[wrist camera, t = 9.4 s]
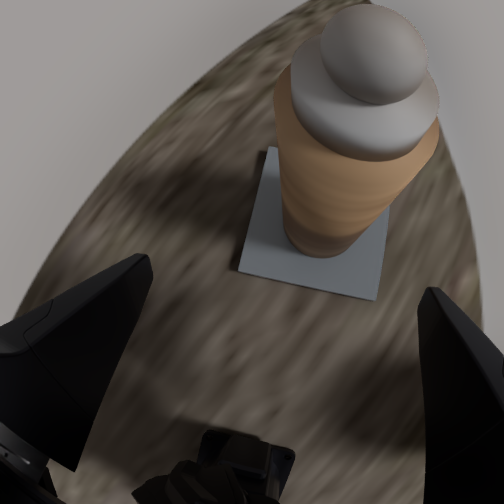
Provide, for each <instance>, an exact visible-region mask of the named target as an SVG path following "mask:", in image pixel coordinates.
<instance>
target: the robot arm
mask: <svg viewBox="0 0 504 504" xmlns="http://www.w3.org/2000/svg"><path fill="white" fill-rule="evenodd" d="M152 281H153V271H152V267H151V263H150V259H149V257H148V255H146V254H140V253H136V254H134V255H132V256H130V257H128V258H126V259H124V260H122V261H120V262H118V263H117V264H115V265H113V266H111V267H109V268H107V269H105V270H103V271H102V272H100V273H98V274H96V275H94V276H92V277H90V278H89V279H87V280H85V281H83V282H81V283H80V284H78V285H76V286H74V287H72V288H71V289H69V290H67V291H65V292H63V293H62V294H60V295H58V296H56V297H55V298H54V299H51V300H49V301H48V302H46V303H44V304H42V305H41V306H39V307H37V308H35V309H33V310H32V311H30V312H28V313H26V314H24V315H22V316H20V317H18V318H16V319H14V320H12V321H10V322H8V323H6V324H4V325H2V326H0V504H66V503H65V502H63V501H61V500H60V499H58V498H57V497H58V496H57V494H56V491H55V488H54V485H53V482H52V479H51V476H50V473H49V469H48V468H47V467H46V465H47V463H48V461H49V459H50V458H51V459H52V460H54V461H56V462H57V463H59V464H60V465H62V466H64V467H66V468H67V469H69V470H71V471H73V472H75V471H76V468H77V466H78V463H79V460H80V457H81V454H82V452H83V449H84V446H85V443H86V441H87V438H88V435H89V433H90V430H91V428H92V425H93V421H94V419H95V417H96V414H97V412H98V409H99V407H100V404H101V402H102V400H103V397H104V395H105V392H106V390H107V388H108V385H109V383H110V380H111V378H112V376H113V374H114V371H115V369H116V367H117V364H118V362H119V360H120V358H121V355H122V353H123V351H124V349H125V347H126V345H127V342H128V340H129V338H130V336H131V334H132V332H133V330H134V327H135V325H136V323H137V321H138V319H139V316H140V314H141V311H142V308H143V306H144V303H145V300H146V297H147V295H148V292H149V289H150V286H151V284H152ZM417 316H418V334H419V356H420V365H421V374H422V384H423V395H424V410H425V435H426V464H425V472H426V473H425V486H424V500H423V504H504V355H503V354H502V353H501V352H500V350H499V349H498V348H497V347H496V346H495V345H494V344H493V343H492V341H491V340H490V339H489V338H488V337H487V336H486V335H485V334H484V333H483V332H482V331H481V329H480V328H479V327H478V326H477V325H476V324H475V323H474V322H473V321H472V320H471V319H470V318H469V317H468V316H467V315H466V314H465V313H464V312H463V311H462V310H461V309H460V308H459V307H458V306H457V305H456V304H455V303H454V302H453V301H452V300H451V299H450V298H449V297H448V296H447V295H446V294H445V293H444V292H443V291H442V290H441V289H440V288H438V287H427V288H426V290H425V292H424V294H423V296H422V299H421V301H420V303H419V305H418V310H417ZM208 435H211V436H213V439H210V438H209V437H208ZM285 455H291V457H289V458H286V457H285ZM294 460H295V452H294V451H293V450H291V449H286V448H281V447H276V446H271V445H270V444H269V443H267V442H263V441H259V440H254V439H250V438H246V437H242V436H239V435H232V436H231V435H227V434H224V433H220V432H217V431H214V430H207V431H206V432H205V433H204V435H203V437H202V442H201V446H200V450H199V454H198V459H197V463H195V462H193V461H191V460H185V461H180V462H179V463H178V464H177V465H176V466H175V468H174V469H173V470H172V472H171V473H170V474H168V475H162V476H156V477H154V478H152V479H149V480H147V481H146V482H145V484H143V485H142V486H140V487H139V488H137V489H136V490H134V491H133V492H132V493H131V494H132V496H133V497H134V499H135V500H136V502H137V503H138V504H280V503H279V502H278V501H279V498H280V496H281V494H282V491H283V489H284V486H285V484H286V481H287V479H288V476H289V474H290V471H291V468H292V466H293V463H294Z"/></svg>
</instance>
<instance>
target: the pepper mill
mask: <svg viewBox="0 0 504 504" xmlns="http://www.w3.org/2000/svg"><path fill="white" fill-rule="evenodd" d="M427 66H428V56H427V51H426V46H425V44H424V42H423V39H422V37H421V35H420V34H419V32H418V31H417V30H416V28H415V27H414V26H413V25H412V23H410V21H408V20H407V19H406V18H405V17H403V16H402V15H400V14H399V13H397V12H396V11H394V10H391V9H389V8H386V7H383V6H379V5H374V4H360V5H355V6H351V7H348V8H345V9H343V10H341V11H340V12H338V13H337V14H336V15H334V16H333V17H332V18H331V19H330V21H329V22H328V23H327V25H326V26H325V28H324V30H323V33H322V34H319V35H316V36H314V37H312V38H310V39H308V40H307V41H305V42H304V43H303V44H302V45H301V46H299V48H298V49H297V50H296V52H295V54H294V56H293V58H292V62H291V63H290V64H289V65H288V66H287V67H286V68H285V69H284V71H283V72H282V73H281V75H280V77H279V79H278V80H277V83H276V86H275V89H274V111H275V122H276V133H277V145H278V157H279V170H280V184H281V198H282V213H283V226H284V230H285V233H286V236H287V238H288V239H289V241H290V242H291V244H292V245H293V246H294V247H295V248H296V249H297V250H299V251H300V252H301V253H303V254H305V255H307V256H310V257H314V258H320V259H324V258H332V257H335V256H338V255H340V254H342V253H343V252H345V251H346V250H347V249H348V248H349V247H350V246H351V245H352V244H353V243H354V242H355V241H356V240H357V239H358V238H359V237H360V236H361V235H362V234H363V233H364V232H365V230H366V229H367V228H368V227H369V226H370V225H371V224H372V223H373V222H374V221H375V220H376V219H377V218H378V217H379V216H380V214H381V213H382V212H383V211H384V210H385V209H386V208H387V207H388V206H389V205H390V203H391V202H392V201H393V200H394V199H395V198H396V197H397V196H398V195H399V193H400V192H401V191H402V190H403V189H404V188H405V187H406V186H407V184H408V183H409V182H410V181H411V180H412V179H413V178H414V176H415V175H416V174H417V173H418V172H419V171H420V169H421V168H422V167H423V166H424V165H425V164H426V162H427V161H428V160H429V159H430V157H431V156H432V154H433V153H434V150H435V148H436V146H437V142H438V138H439V122H438V118H437V114H438V110H439V94H438V90H437V87H436V85H435V83H434V80H433V78H432V77H431V75H430V73H429V72H428V71H427Z"/></svg>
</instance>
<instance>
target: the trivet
mask: <svg viewBox="0 0 504 504" xmlns="http://www.w3.org/2000/svg"><path fill="white" fill-rule="evenodd" d="M389 210H390V205H389V206H388V207H387V208H386V209H385V210H384V211H383V212H382V213H381V214H380V216H379V217H378V218H377V219H376V220H375V221H374V222H373V223H372V224H371V225H370V226H369V227H368V228H367V229H366V230H365V232H364V233H363V234H362V235H361V236H360V237H359V238H358V239H357V240H356V241H355V242H354V243H353V244H352V245H351V246H350V247H349V248H348V249H347V250H346V251H345V252H343V253H342V254H340V255H338V256H335V257H332V258H324V259H320V258H314V257H310V256H307V255H305V254H303V253H301V252H300V251H299V250H297V249H296V248H295V247H294V246H293V245H292V244H291V242H290V241H289V239H288V238H287V236H286V233H285V230H284V226H283V213H282V198H281V184H280V170H279V157H278V148H276V147H270V146H269V149H268V152H267V156H266V160H265V164H264V168H263V172H262V176H261V180H260V184H259V188H258V192H257V196H256V200H255V204H254V208H253V212H252V216H251V220H250V224H249V228H248V232H247V236H246V240H245V244H244V248H243V252H242V256H241V260H240V264H239V268H238V271H239V272H241V273H245V274H249V275H254V276H258V277H263V278H267V279H271V280H276V281H280V282H285V283H289V284H294V285H298V286H303V287H307V288H312V289H317V290H321V291H326V292H331V293H335V294H340V295H345V296H350V297H354V298H359V299H364V300H369V301H376V297H377V292H378V286H379V281H380V275H381V269H382V263H383V257H384V250H385V243H386V235H387V227H388V219H389Z"/></svg>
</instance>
